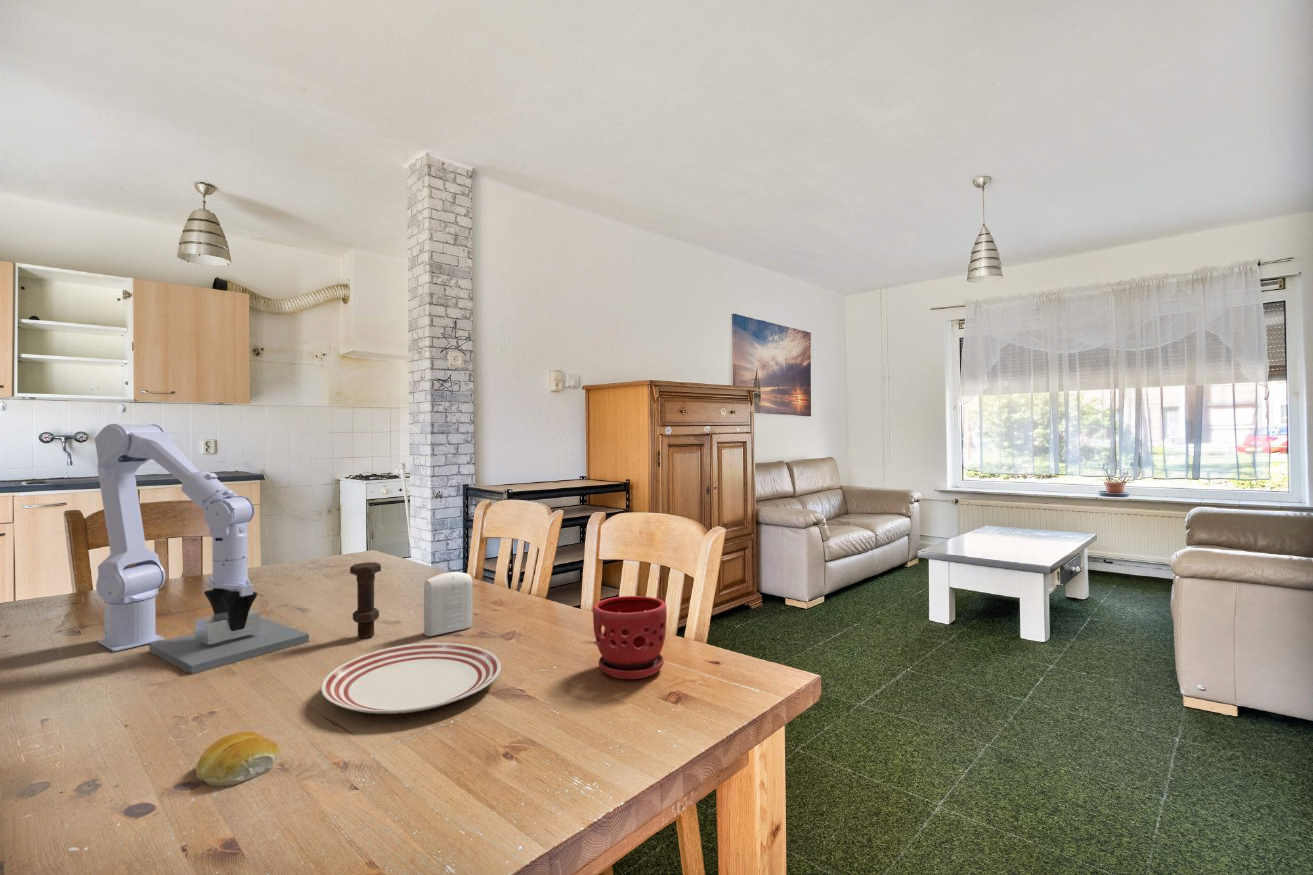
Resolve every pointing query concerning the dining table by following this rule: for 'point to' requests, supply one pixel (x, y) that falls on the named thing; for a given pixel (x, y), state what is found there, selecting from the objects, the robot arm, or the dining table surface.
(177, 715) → the dining table surface
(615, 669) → the plant pot
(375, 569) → the bolt
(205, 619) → the block with square hole
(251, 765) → the bread roll
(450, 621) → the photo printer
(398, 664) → the dinner plate
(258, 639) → the pin board
